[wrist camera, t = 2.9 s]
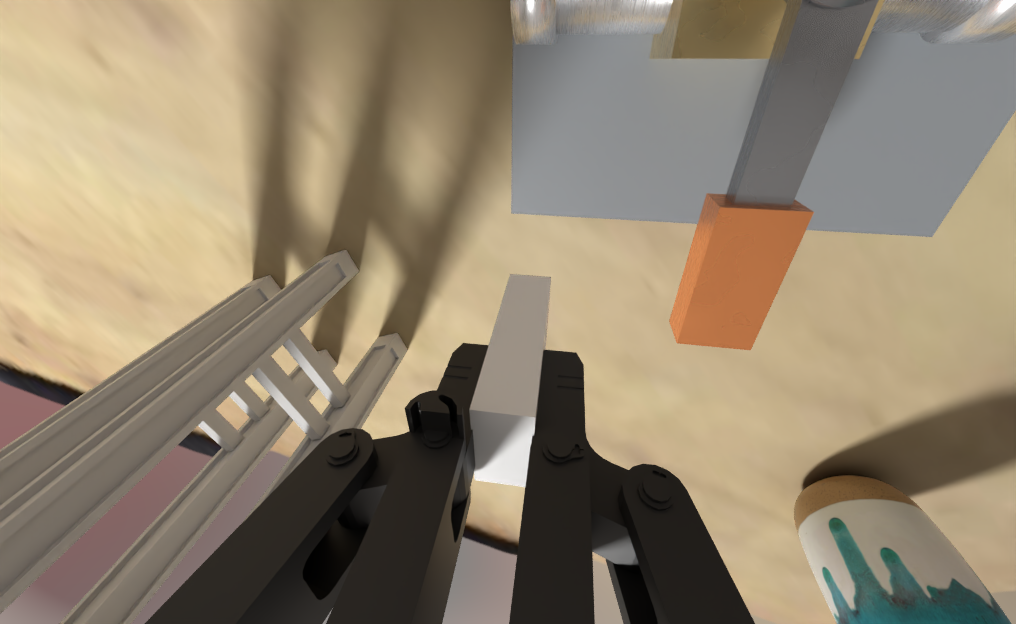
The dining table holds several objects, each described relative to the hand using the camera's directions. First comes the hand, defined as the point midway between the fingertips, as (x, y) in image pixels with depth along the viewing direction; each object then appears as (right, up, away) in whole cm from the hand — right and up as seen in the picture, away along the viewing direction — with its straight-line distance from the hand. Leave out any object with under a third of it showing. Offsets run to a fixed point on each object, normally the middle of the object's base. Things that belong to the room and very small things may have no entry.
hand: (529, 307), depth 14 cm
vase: (+33, -18, +25) cm, 46 cm away
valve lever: (+9, +6, 0) cm, 11 cm away
